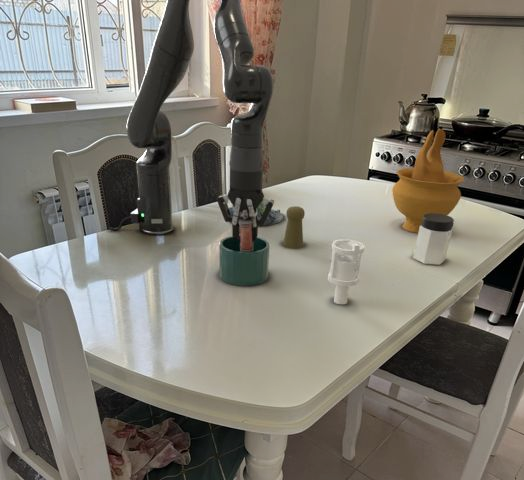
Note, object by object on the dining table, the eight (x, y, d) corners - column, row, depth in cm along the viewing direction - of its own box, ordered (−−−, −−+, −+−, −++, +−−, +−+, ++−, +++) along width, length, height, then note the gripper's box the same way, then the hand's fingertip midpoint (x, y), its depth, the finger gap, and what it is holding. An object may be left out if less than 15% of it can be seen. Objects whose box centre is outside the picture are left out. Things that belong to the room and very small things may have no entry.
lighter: (240, 243, 127) (238, 203, 122) (253, 242, 127) (252, 202, 122) (239, 254, 120) (237, 212, 115) (253, 254, 120) (252, 212, 115)
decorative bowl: (428, 243, 153) (451, 138, 137) (373, 225, 166) (389, 127, 151) (464, 231, 166) (489, 133, 150) (410, 214, 179) (428, 123, 163)
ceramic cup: (219, 285, 122) (219, 252, 117) (219, 266, 132) (219, 234, 128) (269, 286, 123) (271, 253, 118) (265, 266, 133) (267, 235, 129)
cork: (301, 249, 145) (305, 211, 139) (281, 247, 146) (283, 209, 140) (304, 242, 150) (307, 205, 144) (284, 240, 151) (287, 203, 145)
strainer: (335, 310, 113) (343, 247, 105) (319, 297, 119) (326, 235, 111) (361, 305, 116) (371, 243, 108) (345, 293, 121) (354, 232, 113)
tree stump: (296, 222, 167) (291, 170, 155) (247, 245, 160) (238, 193, 148) (264, 205, 179) (258, 155, 167) (217, 226, 172) (207, 176, 160)
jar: (451, 263, 141) (462, 221, 134) (428, 267, 138) (438, 224, 131) (429, 252, 147) (438, 211, 141) (407, 255, 144) (416, 214, 138)
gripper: (279, 165, 116) (275, 237, 125) (220, 160, 117) (220, 232, 127) (274, 172, 109) (270, 248, 118) (211, 167, 111) (212, 242, 120)
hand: (244, 239), depth 123 cm, fingers closed on lighter, 3 cm apart
